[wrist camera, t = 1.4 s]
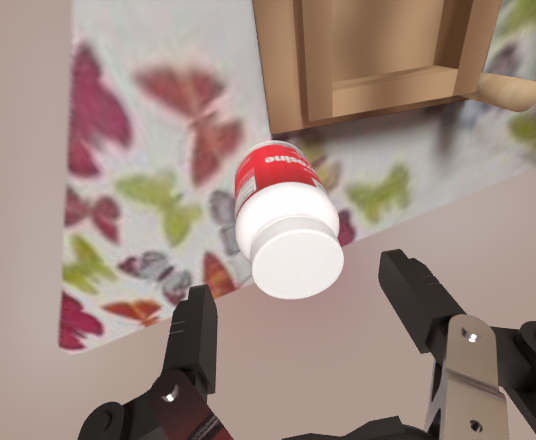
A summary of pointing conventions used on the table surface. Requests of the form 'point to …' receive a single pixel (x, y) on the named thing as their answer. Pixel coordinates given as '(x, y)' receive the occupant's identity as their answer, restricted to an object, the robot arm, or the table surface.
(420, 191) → the table surface
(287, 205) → the pill bottle
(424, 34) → the holder
